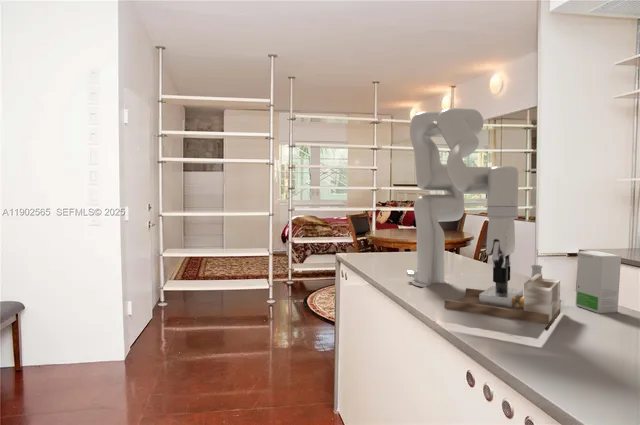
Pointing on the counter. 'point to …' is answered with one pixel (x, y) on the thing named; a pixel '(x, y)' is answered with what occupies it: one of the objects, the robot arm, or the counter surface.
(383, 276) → the counter surface
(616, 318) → the counter surface
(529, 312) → the wooden tray
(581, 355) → the counter surface
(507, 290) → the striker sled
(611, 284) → the skincare box
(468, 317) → the counter surface
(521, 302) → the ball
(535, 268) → the flask
